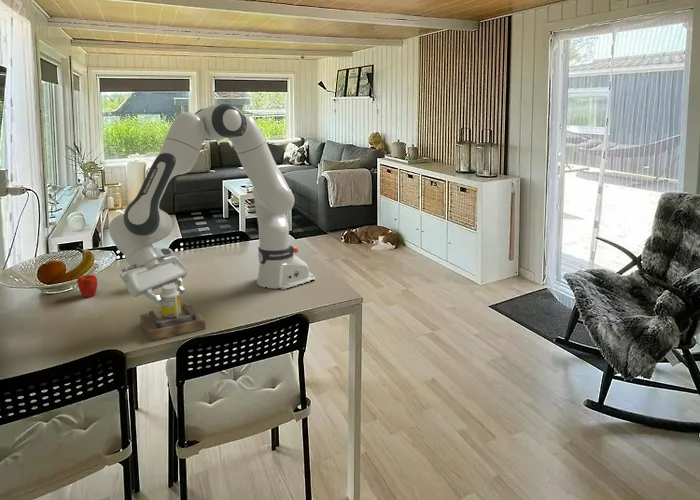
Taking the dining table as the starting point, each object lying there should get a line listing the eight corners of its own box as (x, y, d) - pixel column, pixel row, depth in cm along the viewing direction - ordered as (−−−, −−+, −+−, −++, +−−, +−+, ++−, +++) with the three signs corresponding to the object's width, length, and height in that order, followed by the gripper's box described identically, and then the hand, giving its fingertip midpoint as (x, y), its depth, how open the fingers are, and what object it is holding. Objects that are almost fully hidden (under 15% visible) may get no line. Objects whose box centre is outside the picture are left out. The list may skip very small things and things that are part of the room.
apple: (95, 291, 190) (93, 271, 188) (101, 295, 185) (98, 275, 183) (77, 295, 186) (74, 275, 184) (82, 300, 181) (79, 279, 179)
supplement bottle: (175, 312, 165) (172, 281, 162) (185, 317, 162) (182, 286, 159) (159, 317, 161) (155, 286, 158) (168, 322, 158) (165, 291, 155)
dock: (191, 312, 172) (190, 300, 171) (205, 328, 161) (204, 315, 160) (140, 323, 164) (139, 310, 162) (151, 341, 152) (150, 327, 151)
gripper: (121, 264, 150) (148, 303, 149) (175, 247, 167) (200, 281, 166) (112, 276, 154) (138, 314, 152) (166, 258, 171) (190, 292, 169)
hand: (171, 297), depth 159 cm, fingers open, 8 cm apart
